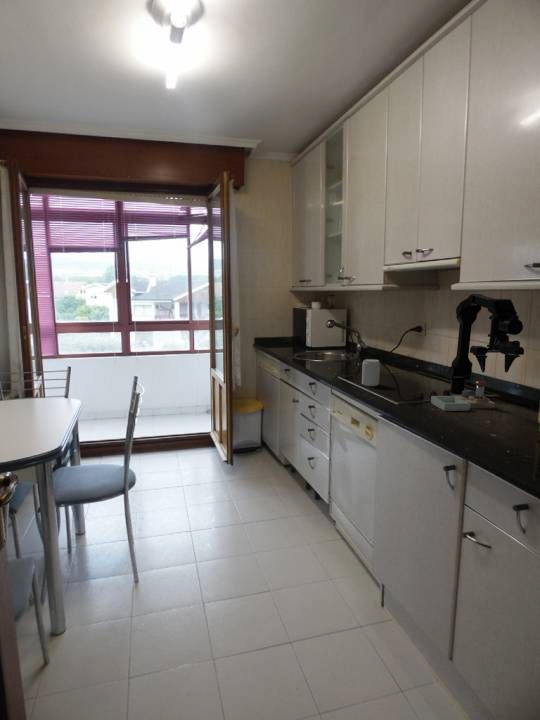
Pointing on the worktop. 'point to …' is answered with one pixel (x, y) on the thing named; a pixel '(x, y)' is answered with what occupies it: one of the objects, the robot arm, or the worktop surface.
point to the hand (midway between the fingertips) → (494, 372)
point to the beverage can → (370, 372)
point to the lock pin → (480, 389)
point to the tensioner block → (475, 400)
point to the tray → (450, 403)
